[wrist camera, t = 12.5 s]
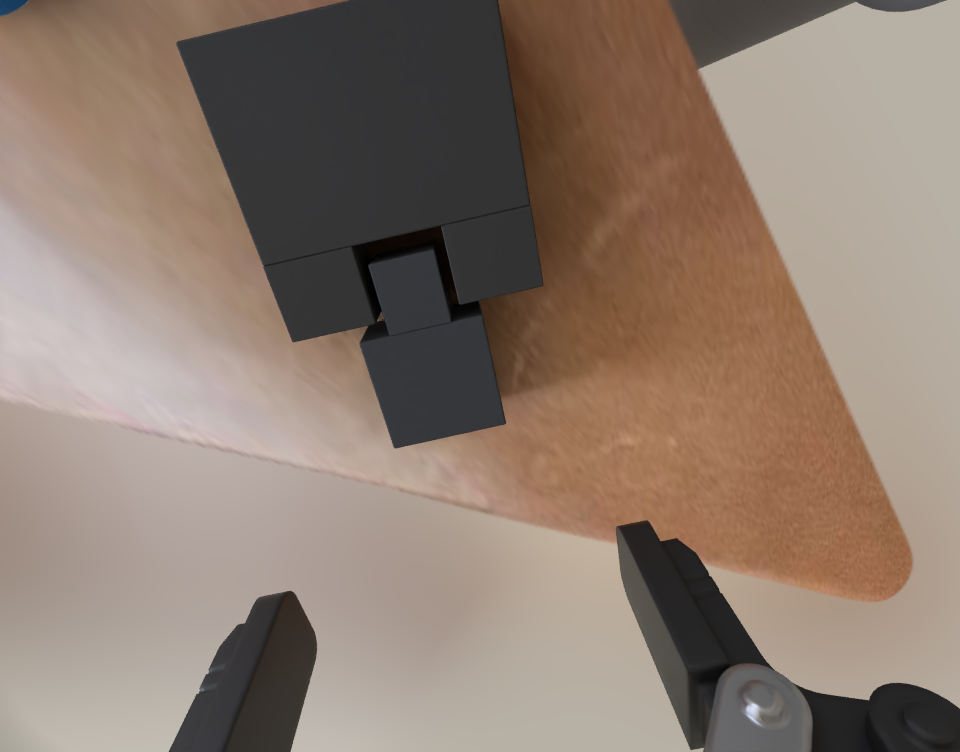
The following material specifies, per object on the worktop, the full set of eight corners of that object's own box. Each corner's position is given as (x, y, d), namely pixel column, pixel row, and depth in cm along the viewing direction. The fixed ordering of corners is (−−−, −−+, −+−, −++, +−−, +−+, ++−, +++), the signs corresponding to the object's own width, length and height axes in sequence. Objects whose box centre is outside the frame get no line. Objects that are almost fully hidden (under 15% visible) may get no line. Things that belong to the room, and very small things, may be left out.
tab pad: (348, 260, 24) (335, 272, 21) (464, 234, 24) (466, 242, 21) (399, 420, 28) (394, 449, 25) (499, 398, 27) (506, 424, 25)
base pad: (213, 61, 20) (174, 41, 17) (485, -4, 20) (492, -35, 17) (310, 323, 25) (292, 342, 22) (532, 273, 25) (543, 286, 22)
